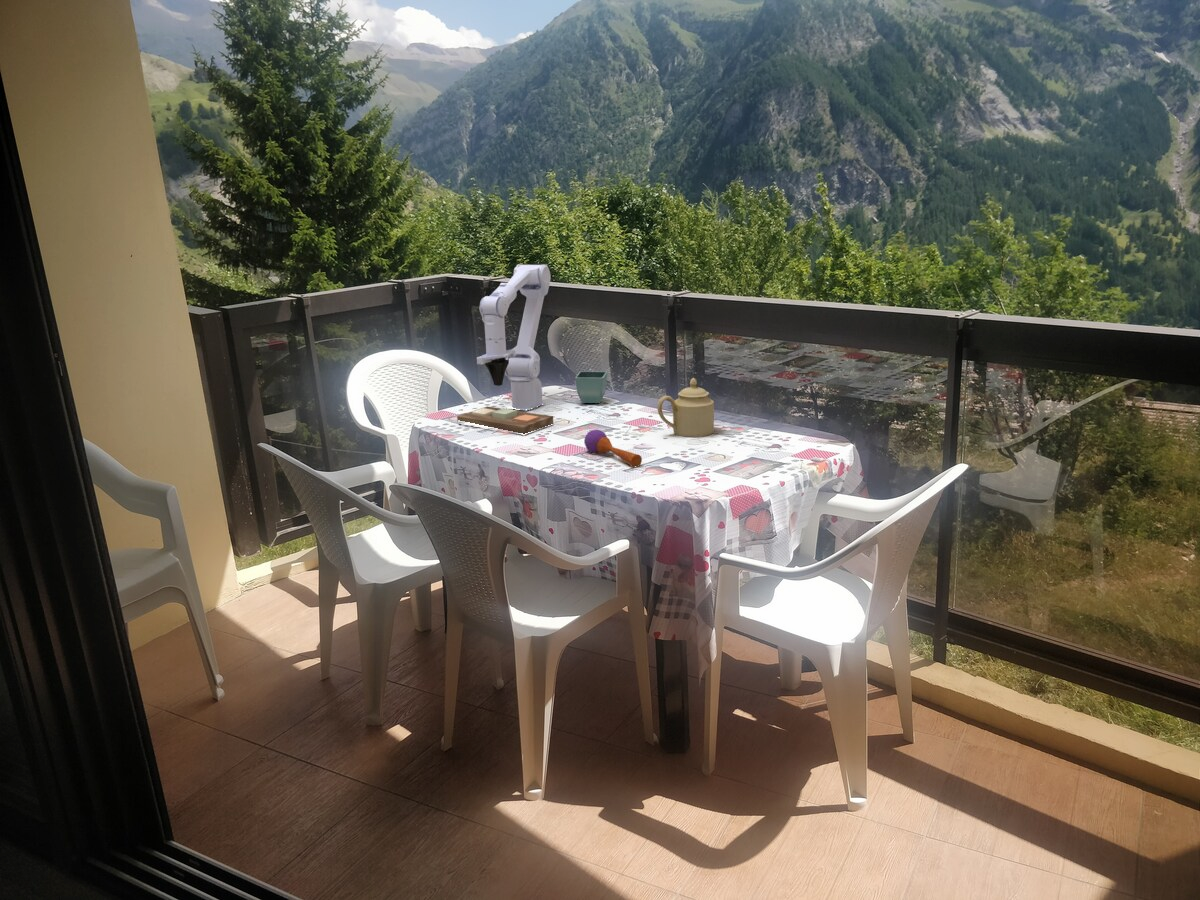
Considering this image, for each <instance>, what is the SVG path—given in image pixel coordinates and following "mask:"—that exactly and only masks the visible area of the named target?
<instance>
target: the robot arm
mask: <svg viewBox="0 0 1200 900" xmlns="http://www.w3.org/2000/svg"><path fill="white" fill-rule="evenodd" d="M551 277H552V276H551V271H550V268H549V267H548V265H547V264H521V263H520V264H519V263H518V264H517V265H516V266H515V267H514V269H513V275H512V276H511V278H510V279H509V280H508V282H500V284H499V286H497V288H496V289H495V290H494V291H492V293H491V294H490V295H489V296H488V295H486V296H484V297H482V298H481V300H480V302H479V307H478V309H479V313H480V315H481V319H482V322H483V323H484V335H485V336H484V338H485V354H482V355H481V356H480V355H479V356H477V357H476V365H485V367H486V368H487V370H488V372H489V374H490V377H491V379H492V382H493V385H494V386H498V387H501V386H503V382H504V377H505V376H506V377H507V379H508V381H510V390H511V405H512V407H513V408H516V409H520V410H526V409H527V410H529V409H531V408H534V407H537V406H540V405H542V404H545V405H546V403H544V402H543V400H544V399H543V387H542V385H543V384H542V382H541V380H540V379H539V378H538V376H539V374H540V368H541V366H540V365H541V364H540V362H541V357H540V355H539V353H538V352H537V351H536V350H534V348H535V343H536V339H537V338H536V337H537V333H538V330H539V329H538V328H539V324H540V318H541V313H542V309H543V303H544V299H545V296H546V295H548V292H549V288H550V283H551ZM518 291H520V294H521V295H522V296H524V297H526V300H525V304H524V305H525V306H524V308H523V309H524V310H523V315H522V320H521V323H520V327H519V334H518V338H517V343H516V345H515V346H514V347H513V348H511V349H507V343H506V323H505V317H506V316H507V314H508V309H509V308H510V306H511V303H512V302H514V300H515V299H516V298H517V296H518V294H517V292H518ZM540 407H541V406H540ZM537 408H538V407H537ZM534 409H535V408H534ZM531 410H532V409H531ZM529 411H530V410H529Z"/></svg>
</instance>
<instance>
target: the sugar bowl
mask: <svg viewBox="0 0 1200 900" xmlns="http://www.w3.org/2000/svg"><path fill="white" fill-rule="evenodd" d="M697 384H698V382H697V379H696V378H695V377H692V378H691V379H690V382H689V385H690V386H688V387H685V388H683V389H682V390H681V391H679V392H678V393H677V395H678V397H677V399H674V398H673V397H672V396H670V395H664V396H662V397H660V398H659V400H658V402H657V407H656V408H657V413H658V415H659V417H660V419H661V420H662V421H663V422H664V423H665V424H666V425H668V426H670V427H671V428H672V430H673V433H674V434H675V435H677V436H681V437H688V438H690V437H691V438H697V437H698V438H699V437H700V436H701V437H705V436H706V435H707V436H710V435H712V434H713V433H714V431H715V426H714V425H715V403H714V400H712V399H711V398H710V397H709V396H708V395H710V393H709V391H707V390H705V389H704V388H702V387H698V386H697ZM667 400H669V401H670V404H671V408H672V422H671V421H669V420H668V419H667V418H666V417H665V415H664V413H663V404H664V402H665V401H667ZM707 436H706V437H707Z"/></svg>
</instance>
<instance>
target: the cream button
mask: <svg viewBox="0 0 1200 900" xmlns="http://www.w3.org/2000/svg"><path fill="white" fill-rule="evenodd" d="M481 408H482V409H481ZM481 408H478V409H479V410H478V409H475V410H476V411H475V410H472V411H473V412H472V411H471V412H472V414H473V415H479V416H487V415H490V414H492V412H494V411H496V410H492V409H485V408H484V407H481Z"/></svg>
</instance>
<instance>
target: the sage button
mask: <svg viewBox="0 0 1200 900" xmlns="http://www.w3.org/2000/svg"><path fill="white" fill-rule="evenodd" d="M517 411H518V410H513V409H507V408H506V407H505V408H504V407H503V408H502V409H500V410H497V411H494V412H492V418H498V419H504V420H506V419H509V418H512V417H515V416H517Z"/></svg>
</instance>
